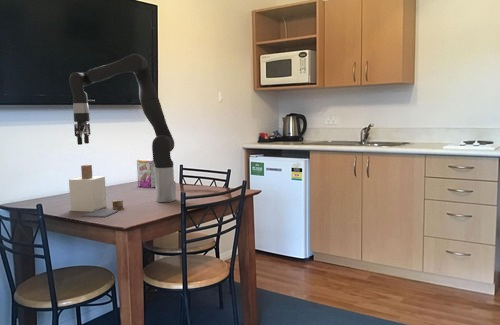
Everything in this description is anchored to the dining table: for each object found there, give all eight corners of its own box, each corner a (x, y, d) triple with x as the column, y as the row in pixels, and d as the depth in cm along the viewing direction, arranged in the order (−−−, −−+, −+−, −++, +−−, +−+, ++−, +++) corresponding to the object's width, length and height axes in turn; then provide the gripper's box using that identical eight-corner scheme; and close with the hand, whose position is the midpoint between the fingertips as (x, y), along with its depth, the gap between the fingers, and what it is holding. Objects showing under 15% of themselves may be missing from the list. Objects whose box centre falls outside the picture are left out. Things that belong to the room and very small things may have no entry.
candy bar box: (137, 186, 281) (136, 159, 279) (143, 185, 285) (142, 159, 283) (151, 188, 275) (149, 160, 273) (156, 186, 279) (155, 159, 277)
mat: (117, 211, 211) (117, 210, 211) (105, 217, 200) (105, 215, 200) (96, 211, 213) (96, 209, 213) (82, 216, 203) (82, 215, 203)
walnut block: (122, 207, 220) (122, 199, 220) (121, 209, 216) (121, 201, 216) (114, 208, 220) (113, 199, 219) (112, 209, 216) (112, 201, 215)
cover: (106, 206, 223) (104, 164, 221) (93, 211, 212) (90, 167, 210) (84, 205, 226) (82, 163, 224) (70, 210, 215) (68, 166, 213)
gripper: (82, 112, 229) (85, 144, 231) (93, 112, 243) (95, 142, 245) (68, 112, 229) (70, 145, 231) (79, 112, 243) (81, 143, 245)
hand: (83, 144), depth 238 cm, fingers open, 8 cm apart
